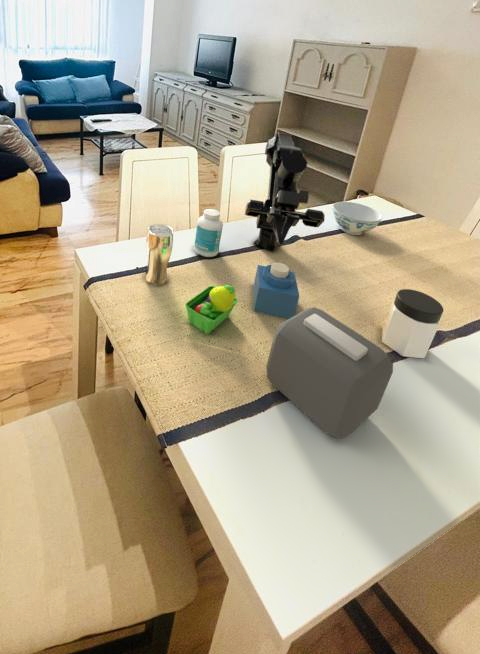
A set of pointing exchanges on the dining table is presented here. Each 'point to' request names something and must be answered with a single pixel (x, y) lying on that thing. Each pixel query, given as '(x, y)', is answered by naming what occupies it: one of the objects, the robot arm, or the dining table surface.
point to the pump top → (279, 270)
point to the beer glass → (158, 253)
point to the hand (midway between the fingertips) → (280, 244)
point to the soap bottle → (275, 293)
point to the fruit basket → (211, 307)
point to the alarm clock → (328, 370)
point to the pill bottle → (208, 233)
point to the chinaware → (355, 217)
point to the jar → (412, 323)
